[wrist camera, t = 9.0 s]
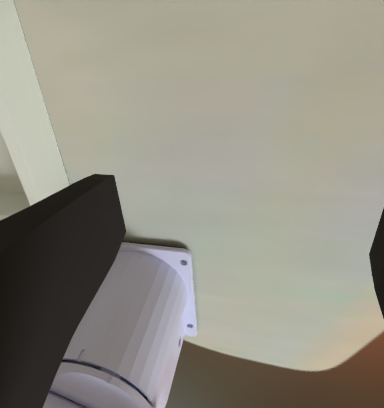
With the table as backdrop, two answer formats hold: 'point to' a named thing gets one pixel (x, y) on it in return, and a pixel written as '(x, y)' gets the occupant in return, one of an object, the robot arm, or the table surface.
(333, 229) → the table surface
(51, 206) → the robot arm
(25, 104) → the walled box
